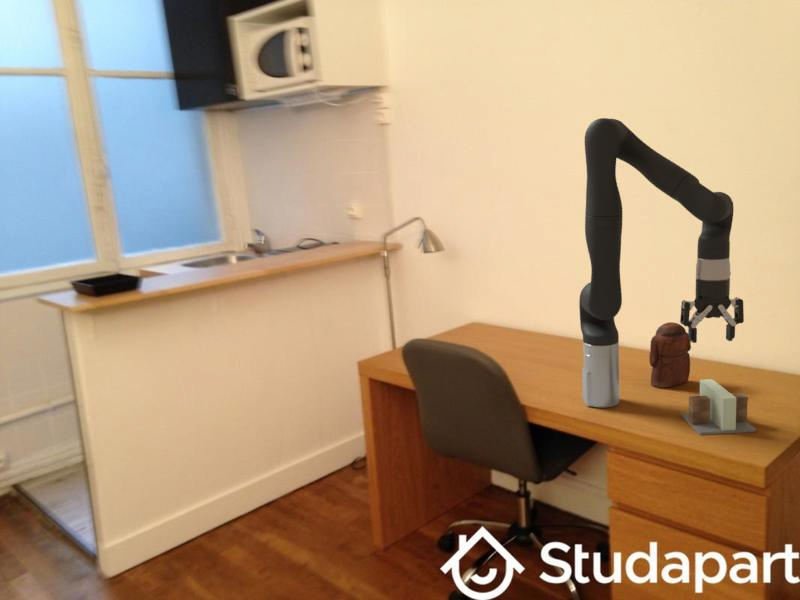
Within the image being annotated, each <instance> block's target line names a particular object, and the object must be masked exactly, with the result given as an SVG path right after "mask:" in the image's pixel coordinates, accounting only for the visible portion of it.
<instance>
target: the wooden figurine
mask: <svg viewBox="0 0 800 600" xmlns="http://www.w3.org/2000/svg"><path fill="white" fill-rule="evenodd" d="M691 343H692V342H691V340H689V338H688V332H687V331H686V328H685V327H684V326H683V325H682V324H681V323H677V322H673V321H672V322H666V323H663V324H661V325H660V326H659V327H658V328H657V330H656V332H655V334H654V335H653V336H652V338H651V339H650V345H649V346H650V348H649V349H650V350H649V351H650V352H649V365H650V366H651V367H652V368H651V375H650V385H651V386H652V387H656V388H661V389H663V388H670V387H671V388H672V387H675V386H677V385H683V384H686V383H688V381H689V379H690V372H691V356H690V353H689V352H690V351H691V349H692V344H691Z"/></svg>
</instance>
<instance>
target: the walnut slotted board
mask: <svg viewBox="0 0 800 600" xmlns="http://www.w3.org/2000/svg"><path fill="white" fill-rule="evenodd" d="M731 394H732V395H733V396H735V397H736V422H748V402H749V401H748V400H749V399H748V398H749V397H748V395H746V394H745V393H731ZM688 414H689V422H690V423H691V424H692V425H697V424H710V398H709V397H708V396H700V395H695V396H693V395H691V396H688Z"/></svg>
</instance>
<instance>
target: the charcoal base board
mask: <svg viewBox="0 0 800 600" xmlns="http://www.w3.org/2000/svg"><path fill="white" fill-rule="evenodd" d="M681 417H682V418H683V419H684V420H685V421H686V422H687V423H688V425H690V426H691V427H692V428H693V430H694V431H695V432H696V433H697V434H698V435H700V436H701V435H702V436H703V435H704V436H705V435H723V434H739V433H756V432H757V429H756V428H755V427H754V426H752V425H751V423H749V422H748V421H747V422H736V430H724V431H723V430H722V429H720V428H719V427H718V426H717V425H716V424H715V423H714V422H713V421H712V420H711V419H710V424H697V425H692V424H691V423H690V422H689V413H682V414H681Z"/></svg>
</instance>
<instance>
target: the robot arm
mask: <svg viewBox="0 0 800 600" xmlns="http://www.w3.org/2000/svg"><path fill="white" fill-rule="evenodd" d="M584 134H585V135H584V151H585V152H584V153H585V164H586V189H585V192H586V193H585V215H584V216H585V217H584V233H585V241H586V246H587V251H588V256H589V259H590V265H591V267H590V268H591V271H590V272H591V273H590V274H591V275H590V277H591V278H590V282H588V283H587V284H586V285H584V286H583V288H582V289H581V291H580V294H579V299H578V300H579V301H578V303H579V304H578V305H579V320H580V321H579V322H580V324H579V325H580V330H581V334H582V345H583V348H582V349H583V350H582V351H583V352H582V355H583V366H582V367H581V381H582V385H581V387H582V388H581V389H582V400H583V402H584V404H585V405H586V407H594V408H612V407H616V406H618V405H619V404H620V398H621V397H620V352H619V351H620V350H619V349H620V347H619V346H620V345H619V344H620V343H619V342H620V341H619V336H620V335H619V331H618V328H617V326H616V322H615V317H616V316H617V315H618V313H619V312H620V310H621V309H622V304H623V303H622V301H623V296H622V284H621V283H622V282H621V251H622V232H623V203H622V197H621V195H620V190H619V186H618V182H617V176H616V173H617V171H616V170H617V168H616V167H617V160H620V161H622V162H625V163H626V164H628V165H630V167H633V168H634V169H635V170H636V171H638V172H639V173H640V175H642V176H643V177H644V178H645V179H646V180H647V181H649V182H650V184H652V185H653V186H654V187H655V188H657V189H658V190H659V191H661V192H662V193H664V194H665V195H666V196H668V197H670V198H672V199H673V200H674V201H677V203H679V204H680V205H681V206H682V207H683V208H684V209H685V210H686V211H688V212H689V213H690V214H691V215H692V216H693V217H695V218H696V219H697V220H699V221H701V222H702V223H701V232H700V234H699V236H698V240H697V251H696V252H697V254H696V255H697V258H696V265H695V298H694V301H690V300H688V301H687V300H682V301H681V307H680V317H679V318H680V321H679V322H680V323H679V324H680V325H682V326H683V327H687V328H688V329H687V330H688V332H687V333H688V338H689V340H691V343H693V344H696V343H698V342H697V340H698V337H697V336H698V332H697V331H698V328H697V326H698V325H699V324H700V323H701V322H702V321H703V320H704V319H705V318H706V319H711V318H716V319H717V318H718V319H720V318H722V319H723V320H724V321H725V322H726V325H725V327H726V328H725V339H726V340H727V341H728V342H732V341H733V339H735V336H736V326H737V325H739V324H743V323H744V322H745V320H744V319H745V318H744V317H745V316H744V314H745V313H744V300H743V299H741V298H739V297H738V296H737V297H735V298H730V293H731V292H730V287H731V286H730V285H731V262H730V251H731V250H730V249H731V245H730V244H731V242H730V239H731V237H730V236H731V232H732V227H733V225H732V224H733V221H734V210H735V209H734V202H733V200H732V197H730V196H729V195H728V194H727V193H726V192H721V191H712V190H711V189H710V188H708V187H706V186H704V185H703V184H702V183H700V180H699V179H698V178H697V177H696V176H695V175H694V174H693V173H691V172H689V171H688V170H686V169H684V168H683V167H682V166H680V165H679V164H677V163H675V162H673V161H671V160H670V159H669V158H667V157H665V156H664V155H662V154H661V153H659V152H658V151H656V150H655V149H653V148H652V147H651V146H649V145H648V144H647V143H645V142H644V141H643V140H642V139H641V138H639V137H638V136H637V135H636V134H635V133H634V132H633V131H632V130H631V129H630V128H629V127H628V126H626V125H625V124H624V123H623V122H622V121H621V120H618V119H615V118H606V117H605V118H604V117H602V118H597V119H595V120H593V121H592V122H590V124H589V125H588V127H587V128H586V131H585V133H584ZM730 306H732V308H733V313H734V317H732V315H731V314H730V313H729V312H728V309H729V308H730ZM693 307H694V308H695V309H696V310H695V312H693V314H692V317H691V318H690V314H691V313H690V311H692V309H693Z"/></svg>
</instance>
